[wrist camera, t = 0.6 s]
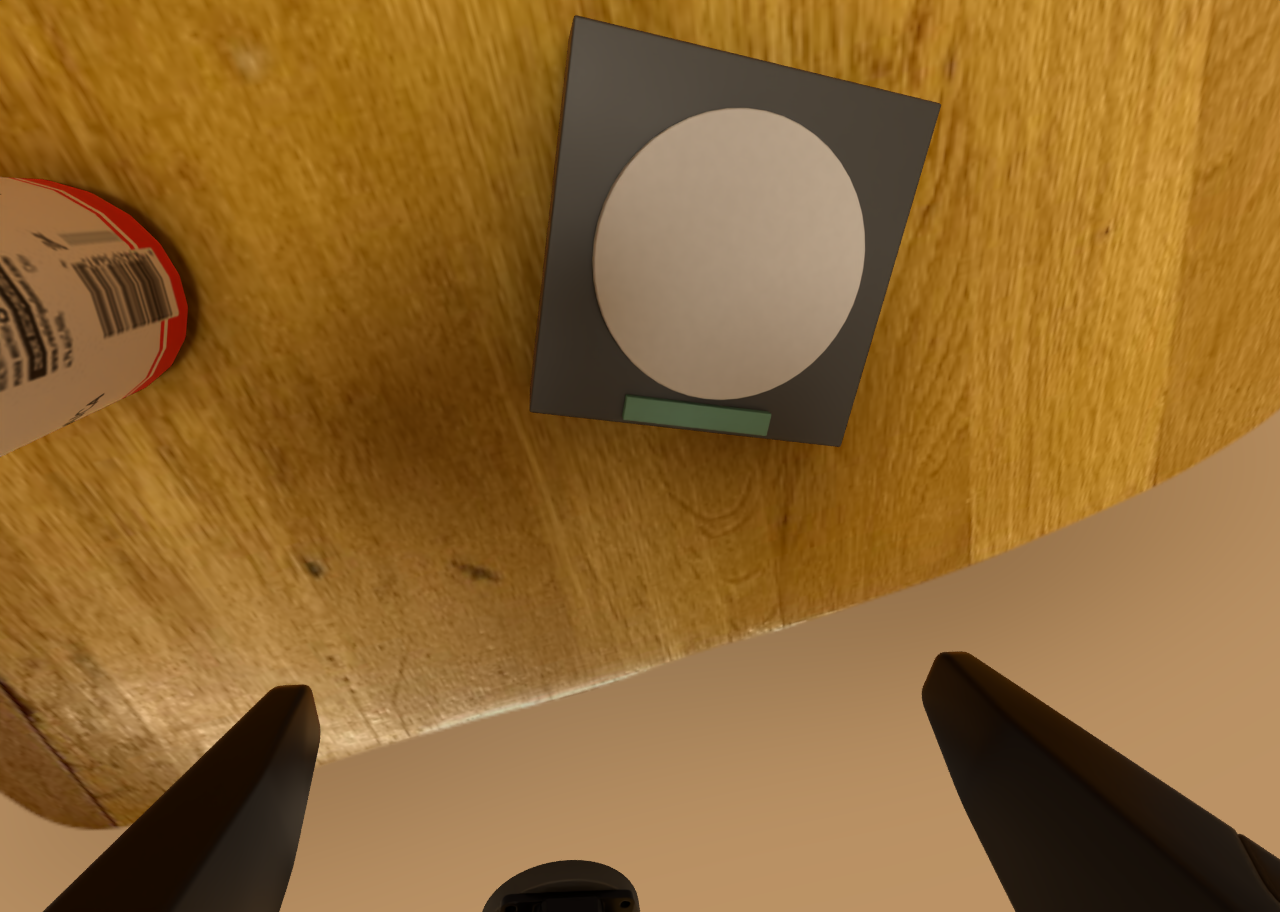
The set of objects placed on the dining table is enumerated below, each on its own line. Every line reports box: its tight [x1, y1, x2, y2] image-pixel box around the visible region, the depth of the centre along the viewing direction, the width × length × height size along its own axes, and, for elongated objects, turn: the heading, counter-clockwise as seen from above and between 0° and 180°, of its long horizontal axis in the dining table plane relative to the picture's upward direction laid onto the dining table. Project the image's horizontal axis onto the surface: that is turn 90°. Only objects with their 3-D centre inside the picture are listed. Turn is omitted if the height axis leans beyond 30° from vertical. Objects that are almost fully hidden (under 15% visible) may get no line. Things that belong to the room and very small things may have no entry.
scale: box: [529, 15, 941, 447], centre depth 21 cm, size 11×11×3 cm
